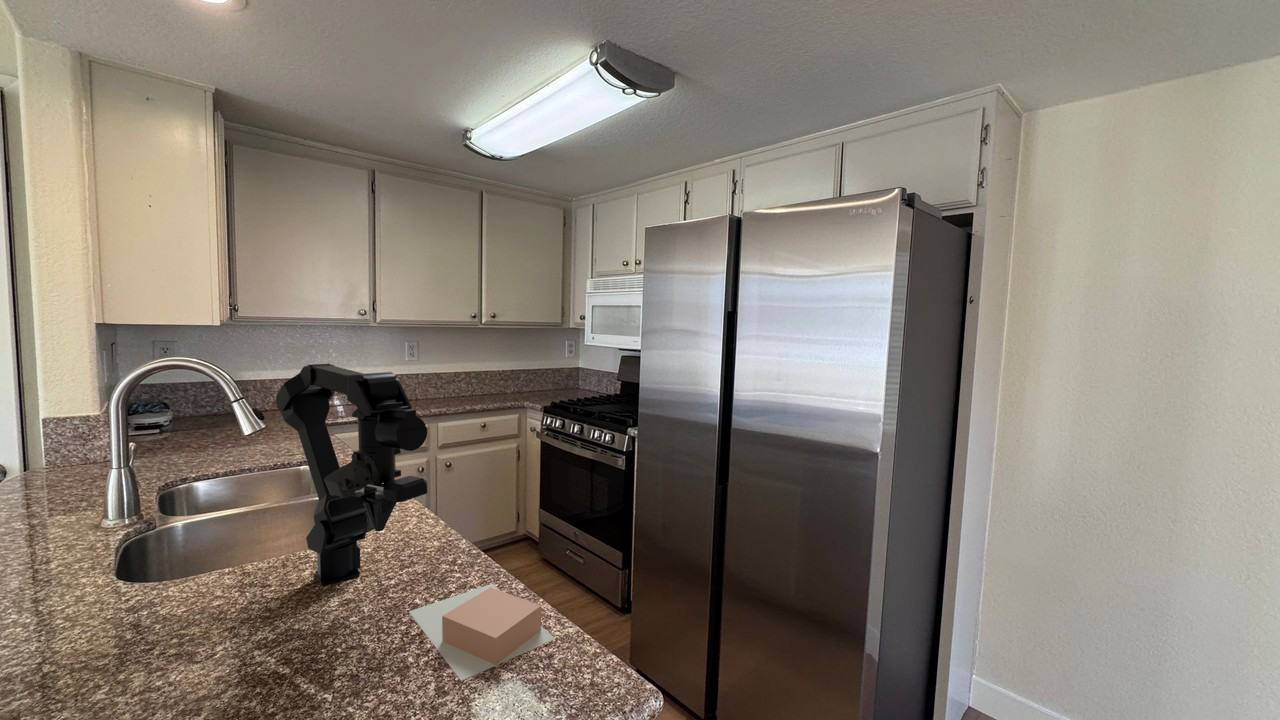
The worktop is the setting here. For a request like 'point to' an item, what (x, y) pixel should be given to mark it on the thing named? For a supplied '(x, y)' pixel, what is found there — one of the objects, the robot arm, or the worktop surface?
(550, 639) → the rubber mat
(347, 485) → the robot arm
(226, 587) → the worktop surface
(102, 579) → the worktop surface
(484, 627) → the terracotta slab
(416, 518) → the worktop surface
